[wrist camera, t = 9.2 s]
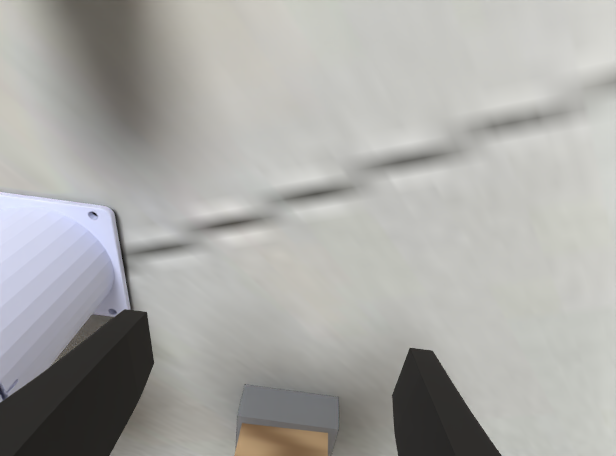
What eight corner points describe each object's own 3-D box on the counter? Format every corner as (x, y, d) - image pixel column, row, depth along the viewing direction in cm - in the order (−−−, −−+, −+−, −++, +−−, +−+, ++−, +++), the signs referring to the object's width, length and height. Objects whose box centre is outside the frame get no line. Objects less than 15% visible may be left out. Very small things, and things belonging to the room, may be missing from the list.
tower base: (242, 431, 31) (234, 469, 29) (246, 378, 28) (237, 415, 25) (324, 443, 31) (323, 481, 29) (338, 390, 28) (338, 429, 25)
